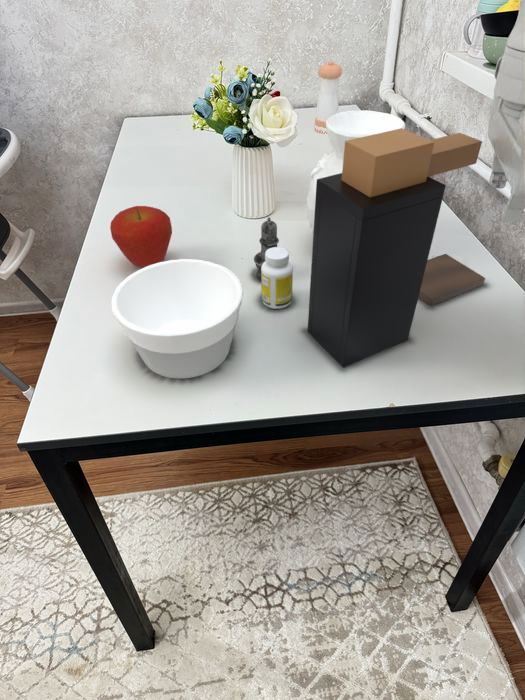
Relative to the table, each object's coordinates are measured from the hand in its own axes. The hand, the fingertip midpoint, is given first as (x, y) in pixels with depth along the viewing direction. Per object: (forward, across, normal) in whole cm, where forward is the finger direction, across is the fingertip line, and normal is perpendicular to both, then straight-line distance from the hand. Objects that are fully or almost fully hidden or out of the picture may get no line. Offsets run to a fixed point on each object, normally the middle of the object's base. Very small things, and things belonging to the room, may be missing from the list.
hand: (502, 202), depth 61 cm
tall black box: (+25, +1, +15) cm, 29 cm away
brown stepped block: (-1, +4, +11) cm, 12 cm away
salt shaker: (+24, +100, +29) cm, 107 cm away
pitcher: (+25, +28, +18) cm, 42 cm away
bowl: (+25, -7, +42) cm, 49 cm away
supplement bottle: (+25, +8, +30) cm, 40 cm away
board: (+25, +19, +1) cm, 31 cm away
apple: (+24, +16, +57) cm, 64 cm away
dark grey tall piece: (+25, +16, +33) cm, 44 cm away
